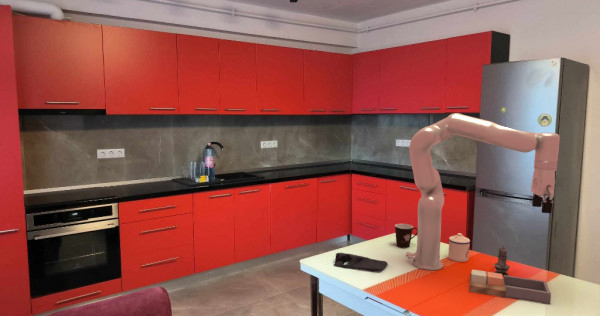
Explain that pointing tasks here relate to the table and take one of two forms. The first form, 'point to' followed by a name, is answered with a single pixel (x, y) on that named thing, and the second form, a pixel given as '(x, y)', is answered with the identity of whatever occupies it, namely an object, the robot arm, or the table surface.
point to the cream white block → (478, 276)
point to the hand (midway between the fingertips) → (541, 209)
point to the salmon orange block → (494, 279)
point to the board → (488, 288)
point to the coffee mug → (404, 235)
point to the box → (527, 289)
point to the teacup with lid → (459, 248)
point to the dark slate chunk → (359, 262)
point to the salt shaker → (502, 262)
